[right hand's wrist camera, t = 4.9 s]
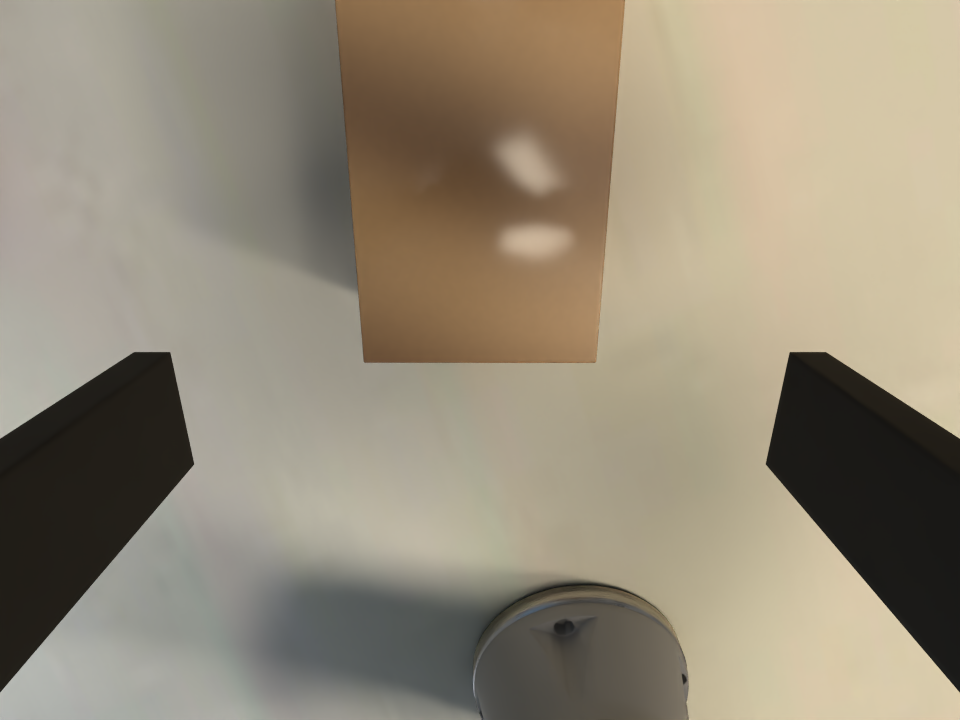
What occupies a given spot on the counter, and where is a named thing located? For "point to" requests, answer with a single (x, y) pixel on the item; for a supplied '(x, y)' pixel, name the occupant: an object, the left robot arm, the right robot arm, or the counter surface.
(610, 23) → the cabinet
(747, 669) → the counter surface
